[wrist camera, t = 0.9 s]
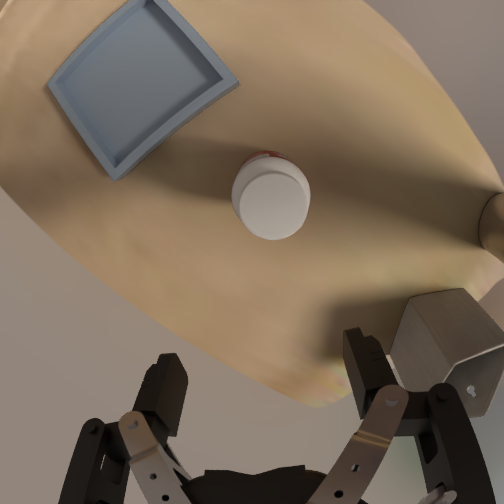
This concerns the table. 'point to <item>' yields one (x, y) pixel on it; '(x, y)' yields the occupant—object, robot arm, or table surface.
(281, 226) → the pill bottle
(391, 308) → the table surface
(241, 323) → the table surface
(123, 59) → the tray
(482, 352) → the planter
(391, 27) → the table surface
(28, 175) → the table surface
